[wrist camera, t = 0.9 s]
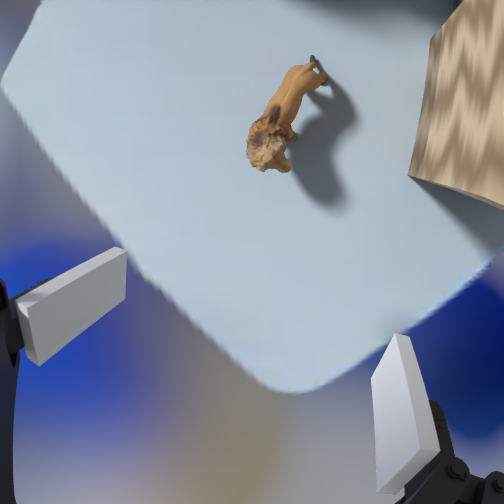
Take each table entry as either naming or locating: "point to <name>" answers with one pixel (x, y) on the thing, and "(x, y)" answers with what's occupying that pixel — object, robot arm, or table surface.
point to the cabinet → (465, 105)
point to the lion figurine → (281, 119)
